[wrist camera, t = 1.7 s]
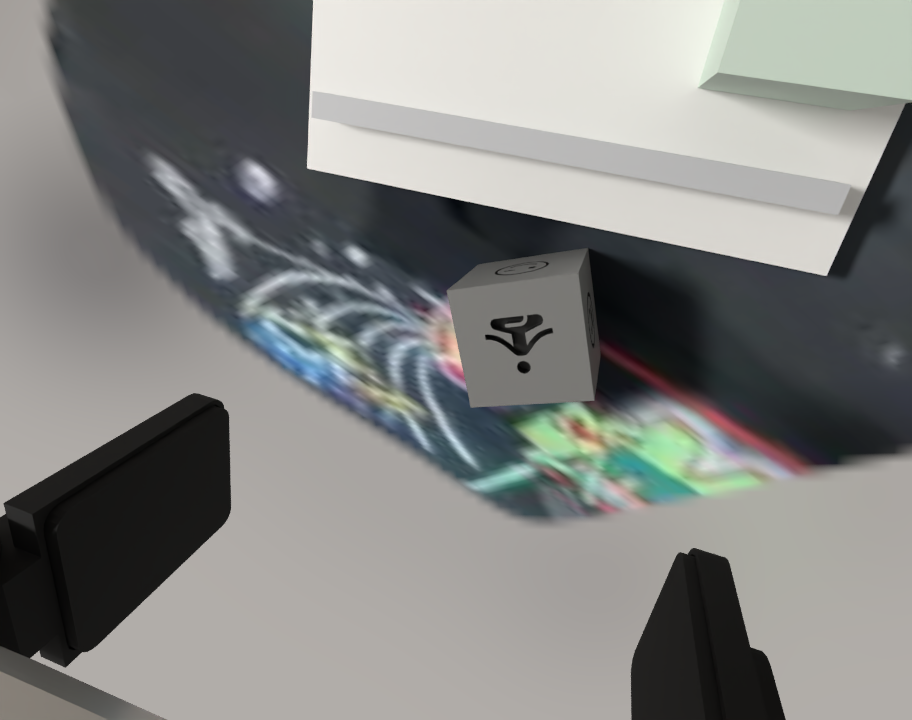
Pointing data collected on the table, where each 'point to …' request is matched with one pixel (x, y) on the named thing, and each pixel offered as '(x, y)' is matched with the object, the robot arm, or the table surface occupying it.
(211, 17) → the table surface
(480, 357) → the dice cube
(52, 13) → the table surface
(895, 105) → the rail board
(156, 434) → the robot arm
